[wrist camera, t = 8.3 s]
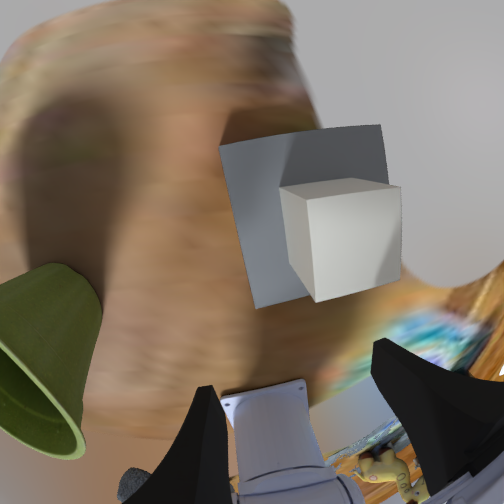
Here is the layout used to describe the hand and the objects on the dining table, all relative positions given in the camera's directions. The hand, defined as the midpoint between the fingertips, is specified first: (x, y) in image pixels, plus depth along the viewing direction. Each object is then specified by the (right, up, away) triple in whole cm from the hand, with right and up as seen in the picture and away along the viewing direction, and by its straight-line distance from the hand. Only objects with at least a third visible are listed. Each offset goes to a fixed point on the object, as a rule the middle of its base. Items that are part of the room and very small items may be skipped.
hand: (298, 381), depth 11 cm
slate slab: (+2, +9, +8) cm, 12 cm away
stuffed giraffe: (+18, -27, +22) cm, 39 cm away
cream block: (+2, +7, +5) cm, 9 cm away
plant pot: (-17, +1, +8) cm, 19 cm away
